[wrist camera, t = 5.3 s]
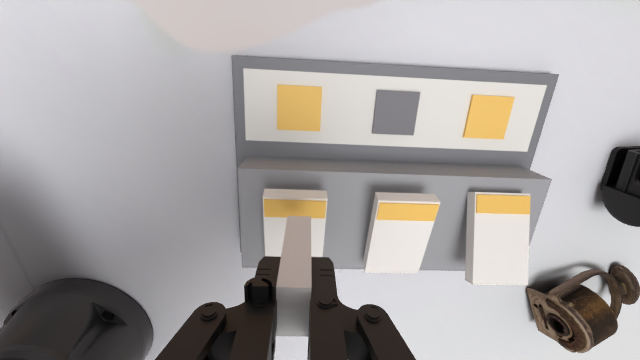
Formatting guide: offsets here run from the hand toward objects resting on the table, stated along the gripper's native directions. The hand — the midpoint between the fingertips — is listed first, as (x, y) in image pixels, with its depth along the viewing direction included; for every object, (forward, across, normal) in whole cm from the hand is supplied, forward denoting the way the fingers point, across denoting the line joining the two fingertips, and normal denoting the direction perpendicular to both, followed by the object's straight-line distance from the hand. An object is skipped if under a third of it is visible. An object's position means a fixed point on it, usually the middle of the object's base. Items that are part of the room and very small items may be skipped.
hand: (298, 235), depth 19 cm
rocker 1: (+6, 0, -3) cm, 6 cm away
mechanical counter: (+13, +35, -15) cm, 40 cm away
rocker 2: (+6, +18, -3) cm, 19 cm away
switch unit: (+13, +8, +1) cm, 15 cm away
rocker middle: (+6, +8, -3) cm, 11 cm away
